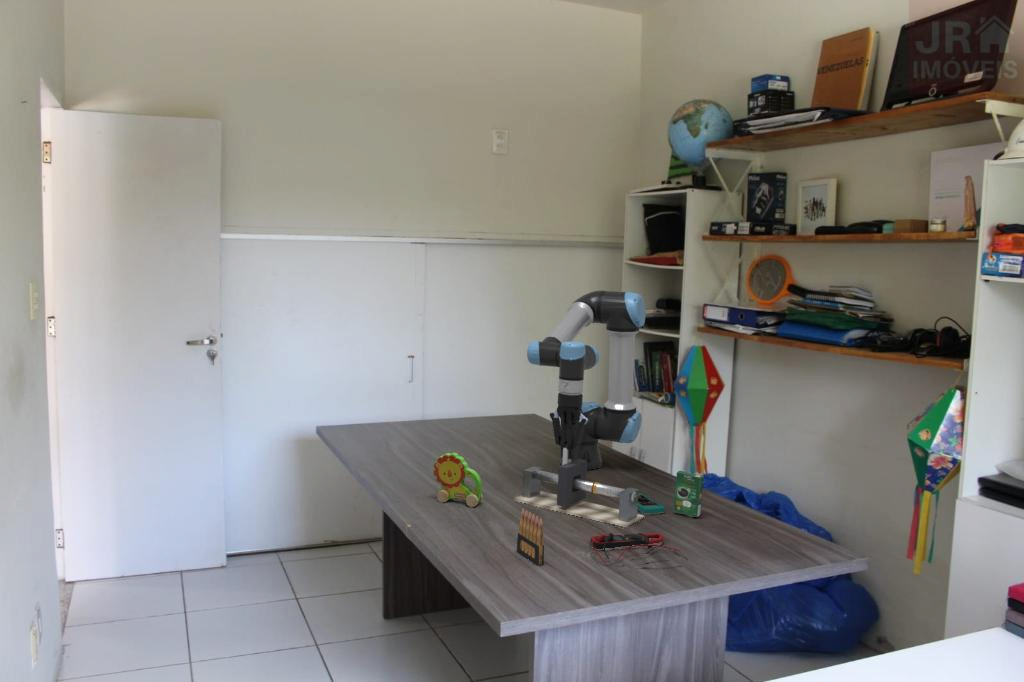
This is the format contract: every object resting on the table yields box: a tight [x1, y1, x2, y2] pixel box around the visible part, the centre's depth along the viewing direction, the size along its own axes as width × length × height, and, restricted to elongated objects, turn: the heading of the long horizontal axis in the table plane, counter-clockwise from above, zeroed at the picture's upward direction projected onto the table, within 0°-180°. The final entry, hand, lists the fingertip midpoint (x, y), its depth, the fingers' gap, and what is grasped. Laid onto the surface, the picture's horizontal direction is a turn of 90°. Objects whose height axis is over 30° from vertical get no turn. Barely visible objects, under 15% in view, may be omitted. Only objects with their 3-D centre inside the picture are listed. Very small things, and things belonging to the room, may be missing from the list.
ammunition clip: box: [516, 507, 545, 566], centre depth 217 cm, size 11×2×12 cm, turn 30°
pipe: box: [521, 466, 640, 522], centre depth 258 cm, size 37×6×9 cm, turn 55°
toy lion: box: [432, 452, 484, 508], centre depth 260 cm, size 16×5×15 cm, turn 68°
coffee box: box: [673, 470, 705, 516], centre depth 257 cm, size 8×3×13 cm, turn 54°
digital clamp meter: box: [589, 532, 681, 564], centre depth 222 cm, size 23×4×25 cm
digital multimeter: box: [637, 493, 666, 513], centre depth 264 cm, size 7×15×3 cm, turn 22°
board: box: [513, 490, 645, 527], centre depth 259 cm, size 39×12×1 cm, turn 55°
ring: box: [556, 459, 588, 507], centre depth 259 cm, size 3×12×12 cm, turn 145°
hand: (566, 468), depth 260 cm, fingers closed
